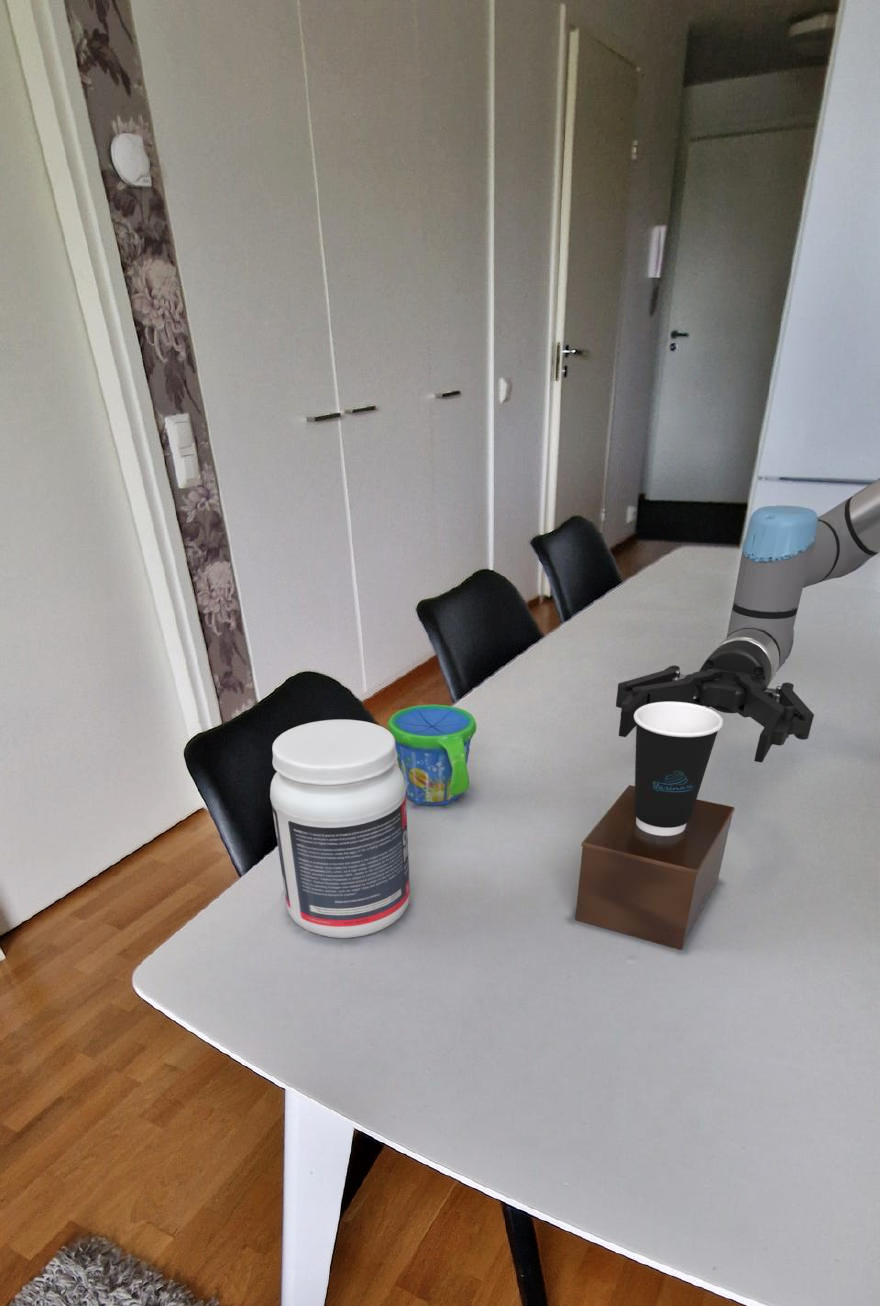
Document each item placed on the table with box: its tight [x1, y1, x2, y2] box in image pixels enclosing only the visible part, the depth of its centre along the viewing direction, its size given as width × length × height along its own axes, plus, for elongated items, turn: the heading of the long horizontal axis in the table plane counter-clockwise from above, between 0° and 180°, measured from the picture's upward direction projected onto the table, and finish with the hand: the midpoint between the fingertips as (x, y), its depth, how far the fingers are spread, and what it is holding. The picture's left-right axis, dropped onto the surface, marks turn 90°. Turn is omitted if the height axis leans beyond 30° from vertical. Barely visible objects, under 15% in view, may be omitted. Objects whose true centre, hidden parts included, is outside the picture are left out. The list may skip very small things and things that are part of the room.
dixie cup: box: [634, 702, 724, 836], centre depth 80 cm, size 8×8×11 cm
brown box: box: [574, 784, 736, 951], centre depth 86 cm, size 11×14×9 cm
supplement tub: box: [269, 719, 411, 939], centre depth 82 cm, size 13×13×18 cm
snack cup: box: [387, 704, 477, 807], centre depth 106 cm, size 16×10×10 cm
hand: (689, 736), depth 83 cm, fingers open, 13 cm apart
